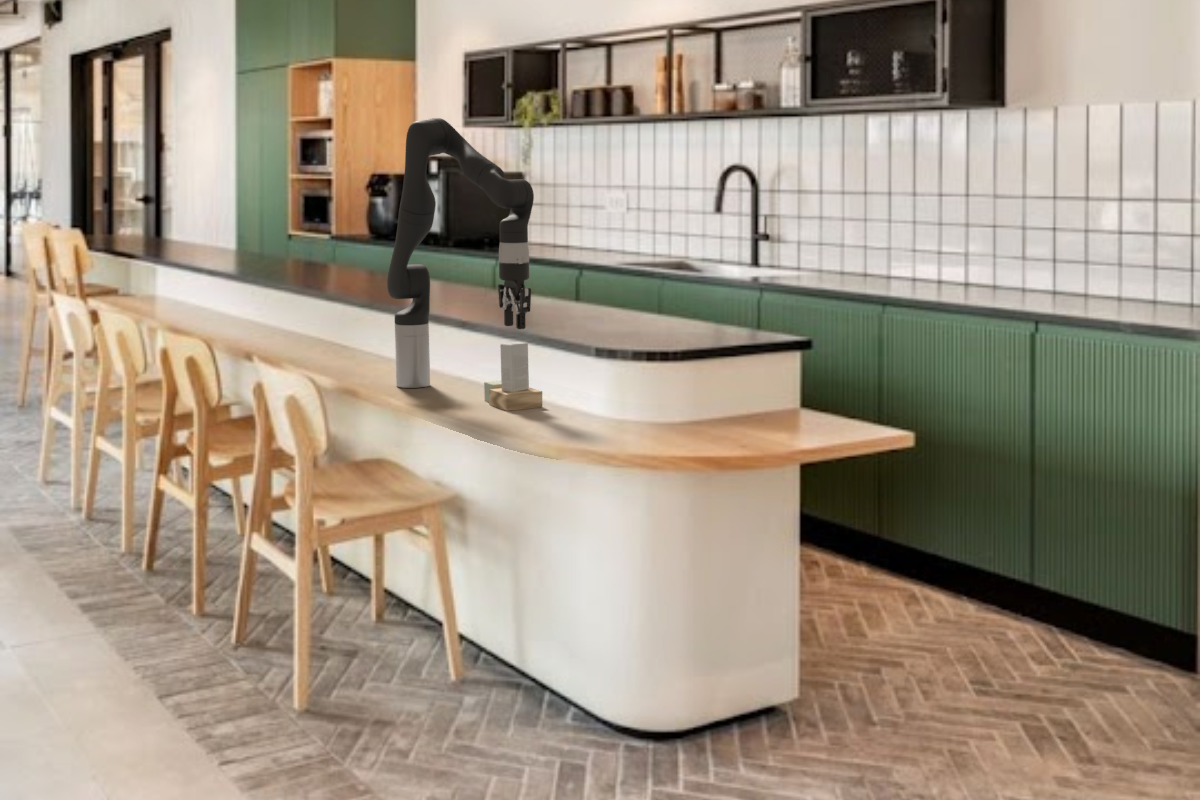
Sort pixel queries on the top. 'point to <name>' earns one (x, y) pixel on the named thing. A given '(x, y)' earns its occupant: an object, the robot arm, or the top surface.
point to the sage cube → (491, 386)
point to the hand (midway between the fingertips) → (514, 327)
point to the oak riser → (515, 399)
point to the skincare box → (514, 366)
